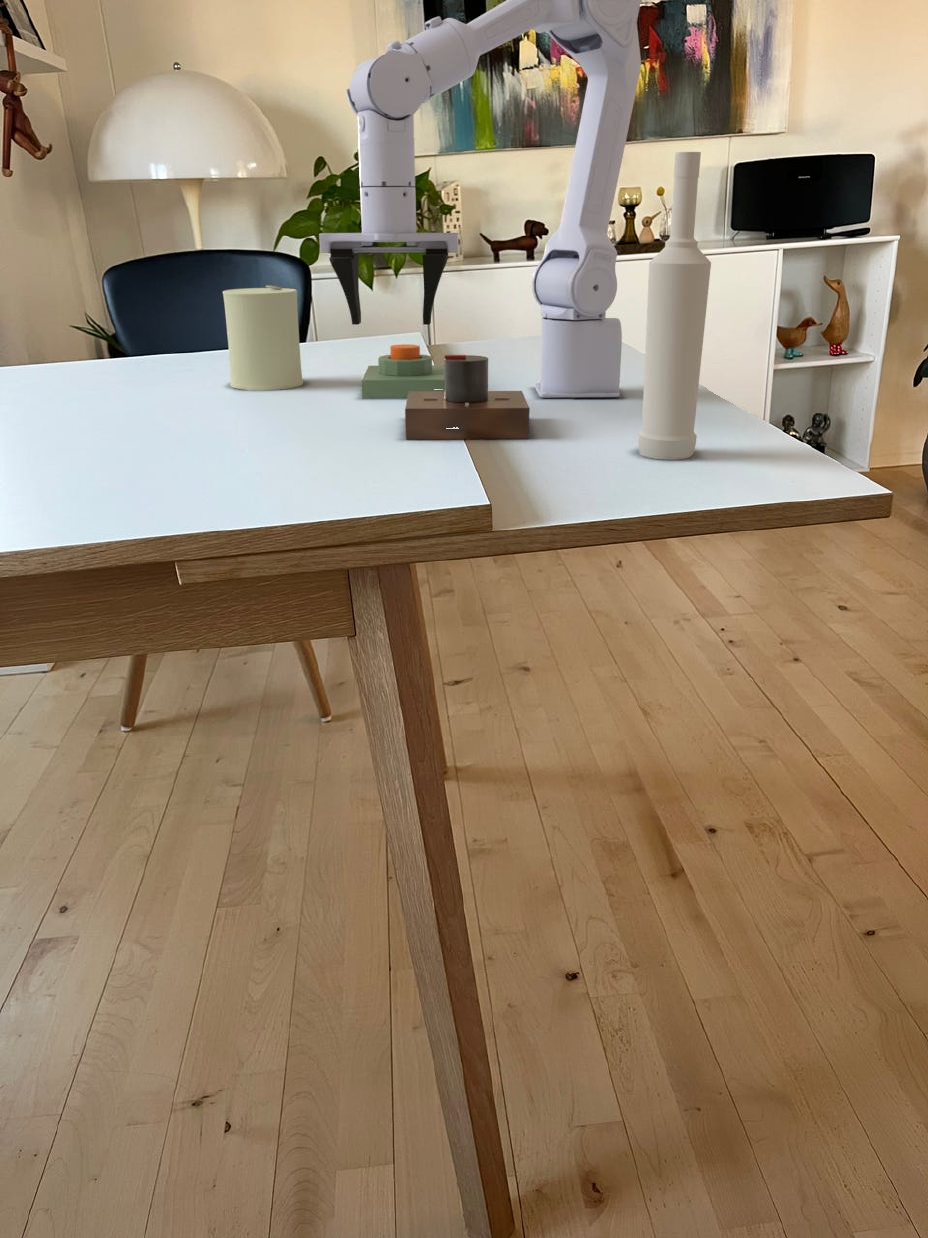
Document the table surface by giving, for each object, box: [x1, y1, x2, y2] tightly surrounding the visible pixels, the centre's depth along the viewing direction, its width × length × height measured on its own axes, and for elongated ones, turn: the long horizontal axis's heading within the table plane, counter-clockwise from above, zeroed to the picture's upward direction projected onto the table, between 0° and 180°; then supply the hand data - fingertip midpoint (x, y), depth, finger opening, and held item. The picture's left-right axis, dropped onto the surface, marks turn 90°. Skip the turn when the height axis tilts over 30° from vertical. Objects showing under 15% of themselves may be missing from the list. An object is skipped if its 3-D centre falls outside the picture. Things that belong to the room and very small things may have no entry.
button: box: [389, 343, 421, 360], centre depth 123 cm, size 4×4×2 cm
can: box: [222, 285, 304, 391], centre depth 127 cm, size 9×9×12 cm
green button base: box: [360, 353, 444, 400], centre depth 124 cm, size 10×12×4 cm
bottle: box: [637, 151, 712, 461], centre depth 87 cm, size 5×5×25 cm
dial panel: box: [404, 390, 530, 440], centre depth 102 cm, size 12×10×3 cm
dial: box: [443, 354, 489, 403], centre depth 101 cm, size 4×4×4 cm
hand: (391, 323), depth 109 cm, fingers open, 7 cm apart
